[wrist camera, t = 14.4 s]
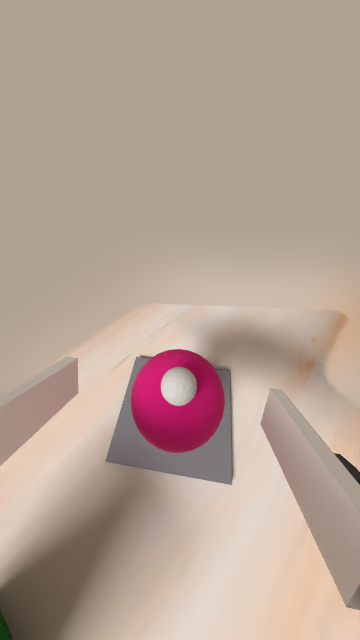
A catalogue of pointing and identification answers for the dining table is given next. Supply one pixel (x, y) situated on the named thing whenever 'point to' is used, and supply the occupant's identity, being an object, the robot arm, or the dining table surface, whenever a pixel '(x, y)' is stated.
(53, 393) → the robot arm
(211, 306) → the dining table surface
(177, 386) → the pepper mill
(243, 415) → the dining table surface
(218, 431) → the rubber mat
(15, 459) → the dining table surface
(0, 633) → the milk carton
